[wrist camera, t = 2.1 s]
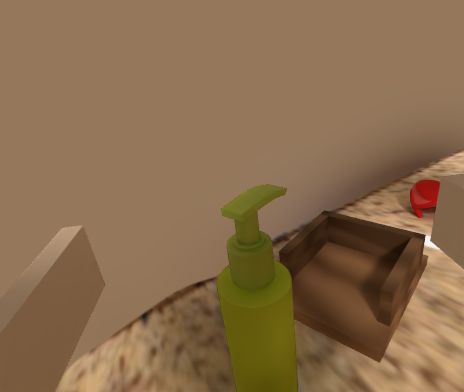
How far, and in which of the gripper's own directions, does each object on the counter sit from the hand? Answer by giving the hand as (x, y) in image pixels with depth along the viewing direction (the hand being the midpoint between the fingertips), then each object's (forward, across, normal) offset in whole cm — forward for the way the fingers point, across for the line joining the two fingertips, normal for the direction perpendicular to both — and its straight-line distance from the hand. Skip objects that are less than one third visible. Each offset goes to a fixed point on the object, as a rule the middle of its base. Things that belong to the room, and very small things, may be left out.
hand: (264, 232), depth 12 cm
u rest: (+22, +13, -23) cm, 34 cm away
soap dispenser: (+10, 0, -23) cm, 25 cm away
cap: (+35, +33, -23) cm, 53 cm away
